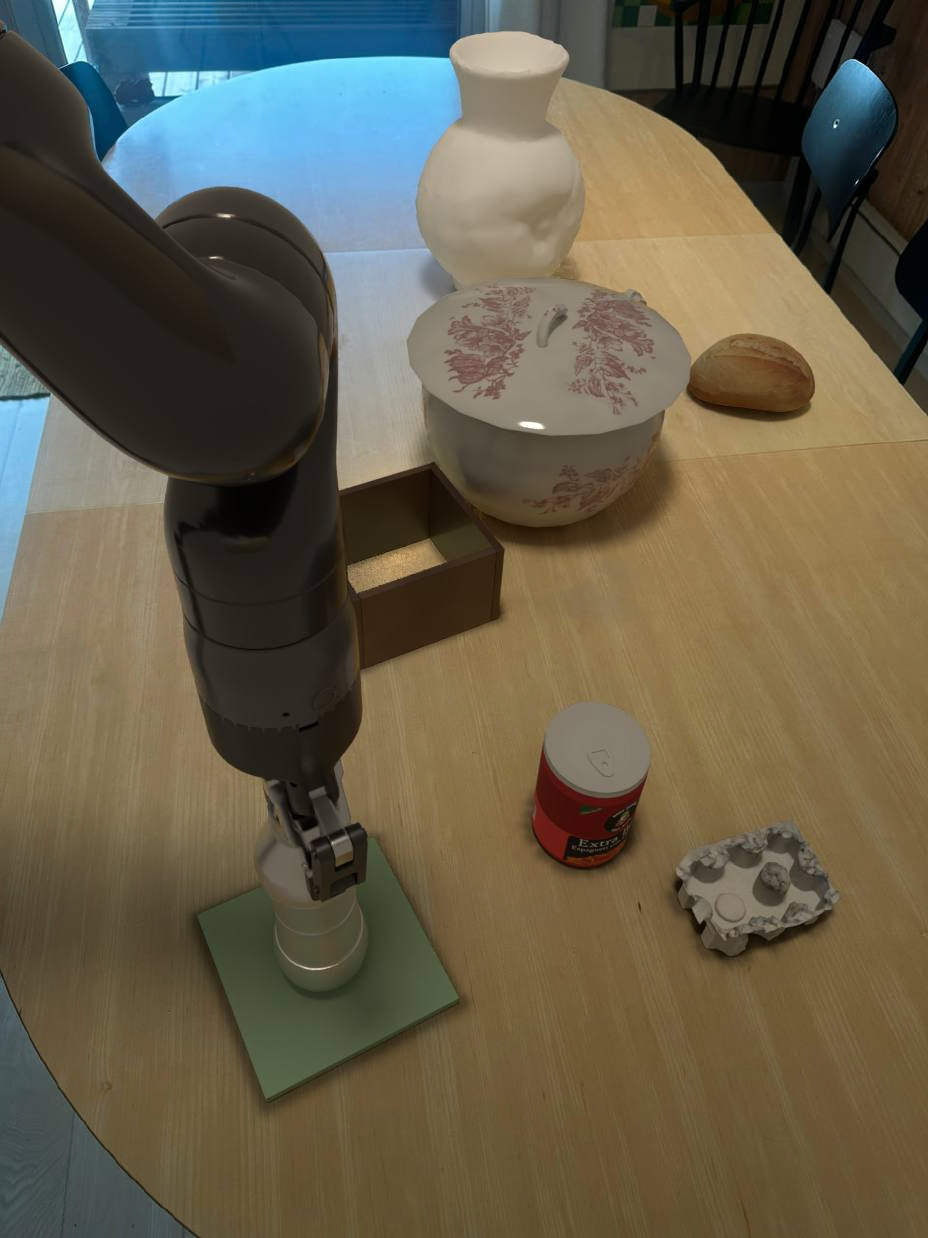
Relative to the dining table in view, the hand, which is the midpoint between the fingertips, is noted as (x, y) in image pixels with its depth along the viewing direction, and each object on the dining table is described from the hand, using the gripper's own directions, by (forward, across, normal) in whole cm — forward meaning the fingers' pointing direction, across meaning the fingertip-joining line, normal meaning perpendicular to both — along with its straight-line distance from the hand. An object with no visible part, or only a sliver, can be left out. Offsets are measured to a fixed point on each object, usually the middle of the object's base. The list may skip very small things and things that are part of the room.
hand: (306, 843), depth 56 cm
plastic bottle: (+16, 0, 0) cm, 16 cm away
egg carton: (+17, +10, +30) cm, 36 cm away
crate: (+16, -30, +20) cm, 40 cm away
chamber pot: (+17, -39, +41) cm, 59 cm away
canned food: (+17, -1, +22) cm, 28 cm away
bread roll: (+17, -41, +72) cm, 85 cm away
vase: (+17, -77, +57) cm, 97 cm away
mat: (+16, 0, 0) cm, 16 cm away
